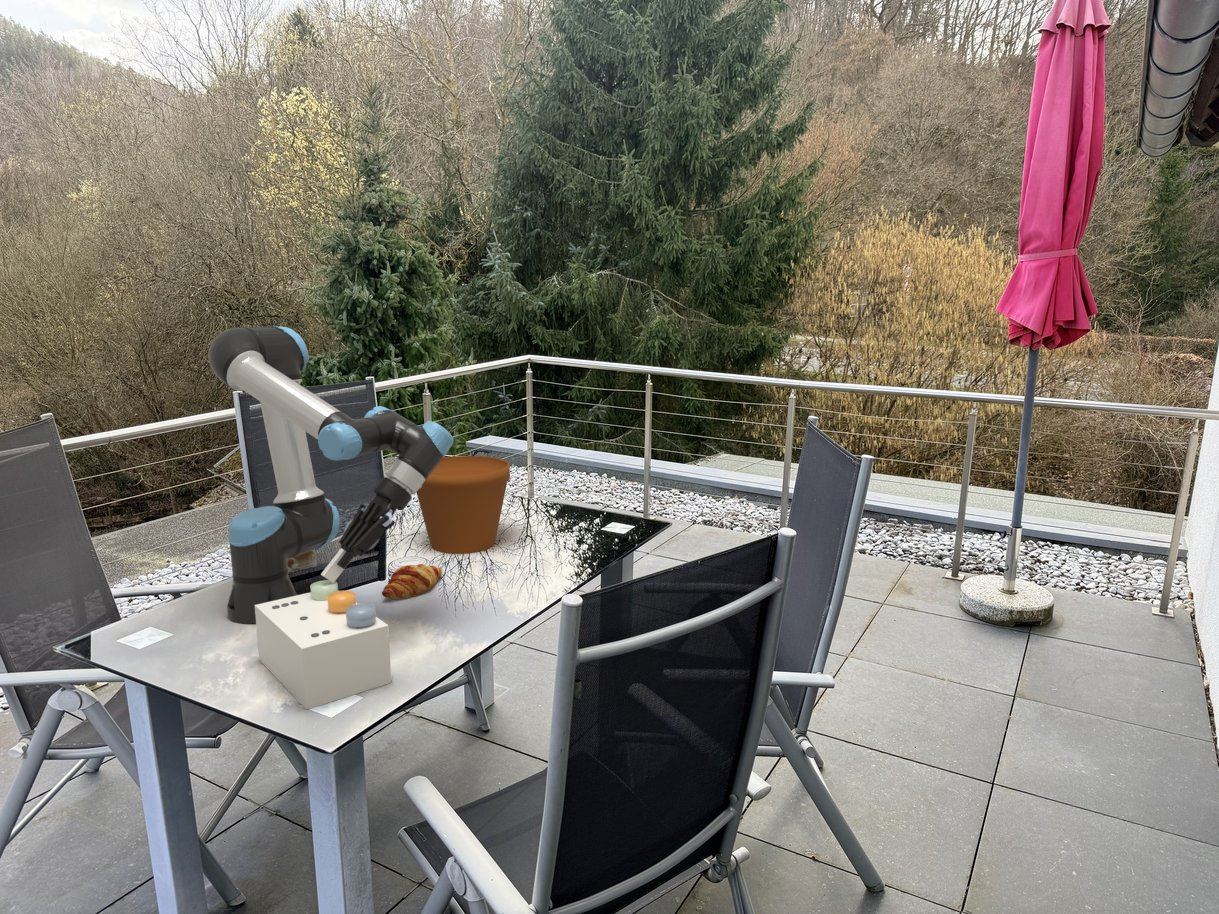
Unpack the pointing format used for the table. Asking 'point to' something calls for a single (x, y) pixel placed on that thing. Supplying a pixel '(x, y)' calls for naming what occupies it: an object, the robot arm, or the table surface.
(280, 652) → the console
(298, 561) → the coffee box
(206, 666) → the table surface
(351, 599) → the button orange
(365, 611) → the button slate
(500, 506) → the flowerpot
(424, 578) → the croissant
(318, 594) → the button sage
